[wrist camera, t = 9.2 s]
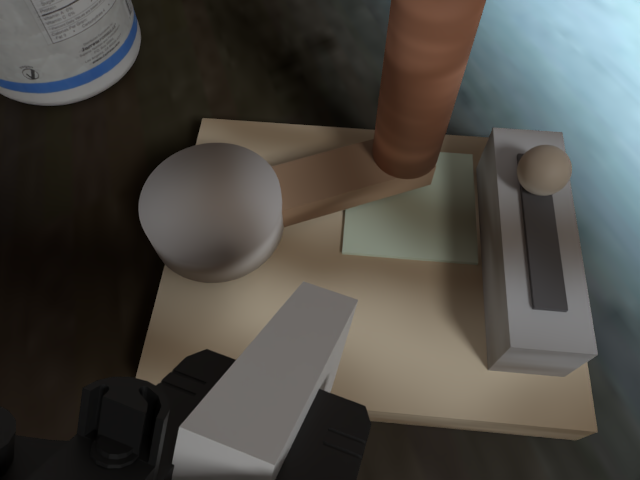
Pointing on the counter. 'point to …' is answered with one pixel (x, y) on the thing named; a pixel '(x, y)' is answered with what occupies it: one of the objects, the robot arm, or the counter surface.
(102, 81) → the supplement tub
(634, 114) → the counter surface
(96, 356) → the counter surface
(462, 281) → the stand
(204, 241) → the lever
